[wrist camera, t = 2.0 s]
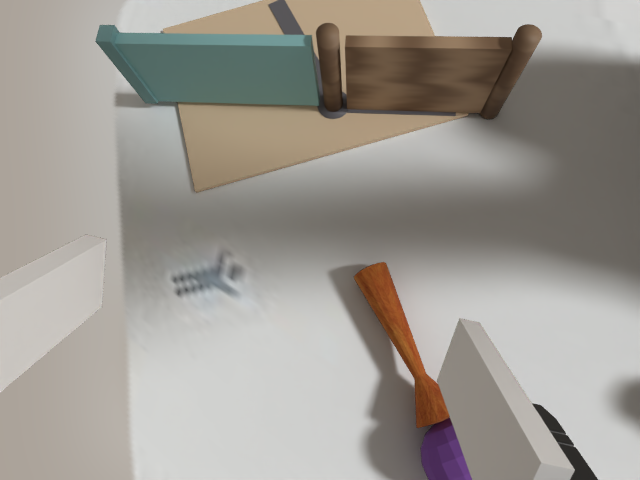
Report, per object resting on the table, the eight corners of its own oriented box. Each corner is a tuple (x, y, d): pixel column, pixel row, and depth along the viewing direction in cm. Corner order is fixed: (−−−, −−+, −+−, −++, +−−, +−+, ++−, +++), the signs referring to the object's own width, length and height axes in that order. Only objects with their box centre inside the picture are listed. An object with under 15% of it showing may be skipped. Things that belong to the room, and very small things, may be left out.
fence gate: (320, 93, 46) (311, 27, 37) (318, 108, 46) (309, 44, 37) (148, 89, 48) (100, 25, 39) (145, 103, 48) (95, 41, 38)
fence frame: (497, 103, 45) (541, 24, 35) (498, 119, 45) (542, 44, 34) (325, 98, 47) (316, 22, 37) (324, 114, 47) (314, 41, 36)
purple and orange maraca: (405, 248, 38) (530, 485, 31) (391, 271, 43) (493, 477, 36) (344, 270, 37) (459, 523, 30) (337, 291, 42) (433, 509, 35)
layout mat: (402, -37, 51) (402, -40, 51) (467, 115, 45) (468, 113, 45) (164, 31, 52) (162, 28, 51) (196, 192, 45) (194, 190, 45)
